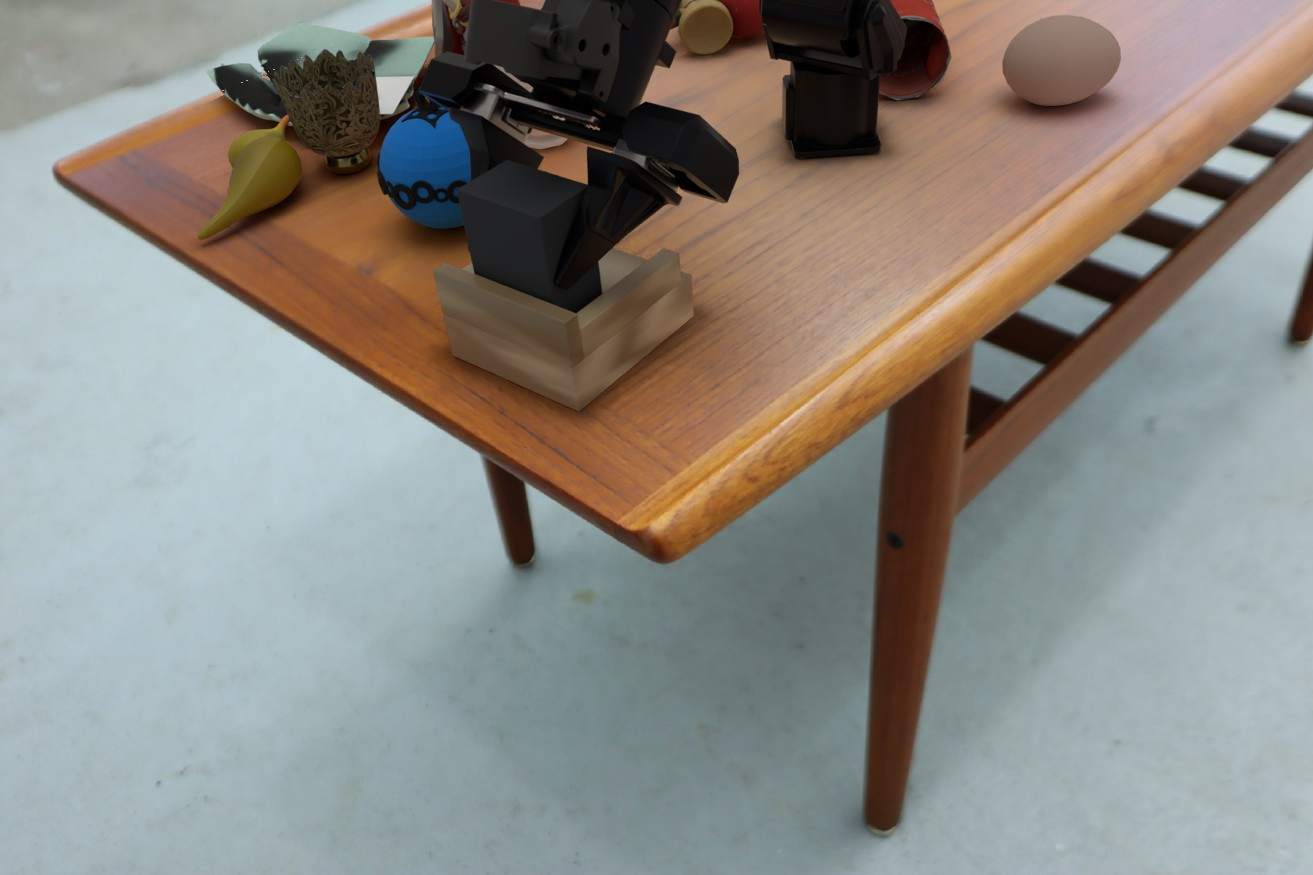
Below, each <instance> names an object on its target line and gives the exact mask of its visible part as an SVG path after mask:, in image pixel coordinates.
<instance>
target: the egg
mask: <svg viewBox="0 0 1313 875" xmlns="http://www.w3.org/2000/svg"><path fill="white" fill-rule="evenodd" d="M1121 61H1122V53H1121V47H1120V44H1119V42H1118V40H1117V38H1116V37H1115V35H1114V34H1113V33H1112V32H1111V31H1110V30H1109V29H1107V27H1105V26H1103V25H1101V24H1100V23H1098V22H1097V21H1094V20H1092V19H1090V18H1087V17H1083V16H1079V15H1070V14H1069V15H1068V14H1061V15H1060V14H1059V15H1050V16H1046V17H1043V18H1040V19H1038V20H1036V21H1033V22H1032V23H1029V24H1028V25H1026V26H1025V27H1023V28H1022V29H1021V30H1020V31H1019V32H1018V33H1017V34H1016V35H1014V37H1013V38H1012V39H1011V40H1010V42H1009V43H1008V46H1007V47H1006V49H1005V51H1004V54H1003V58H1002V63H1001V65H1002V73H1003V74H1002V75H1003V77H1004V80H1005V82H1006V84H1007V85H1008V87H1009V88H1010V89H1011V90H1012V92H1014V93H1015V94H1016V95H1017V96H1018V97H1020V98H1021V99H1023V100H1025V101H1027V102H1029V103H1031V104H1034V105H1036V106H1037V105H1038V106H1043V107H1054V106H1055V107H1056V106H1064V105H1065V106H1067V105H1070V104H1074V103H1077V102H1080V101H1082V100H1084V99H1087V98H1088V97H1090V96H1092V95H1094V94H1096V93H1097V92H1099V91H1100V90H1102V89H1103V88H1105V86H1107V85H1108V84H1109V83H1110V82H1111V81H1112V79H1113V78H1114V76H1115V75H1116V74H1117V72H1118V70H1119V68H1120V64H1121Z"/></svg>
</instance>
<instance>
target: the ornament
mask: <svg viewBox="0 0 1313 875" xmlns="http://www.w3.org/2000/svg"><path fill="white" fill-rule="evenodd" d="M419 88H420V87H418V88H417V89H415V90H414V92H413V98H414V102H415V104H416V106H417V107H415V108H414V109H412V110H410V111H408V112H407V113H405V114H403V115H402V116H401V117H400V118H398V120H397V121H395V123H394V124H393V125H392V126H391V127H390V128H389V130H388V132H387V134H386V136H384V140H383V142H382V146H381V149H380V151H379V152H378V154H377V157H376V166H377V167H376V168H377V171H376V178H377V181H378V184H379V187H380V190H381V192H382V194H383V195H384V196H386V195H387V196H388V198H389V199H390V201H391V203H392V204H393V205H394V206H395V207H396V208H397V210H399V211H400V212H401V213H402V214H403V215H404V216H405V217H406V218H408V219H409V220H412V221H413V222H415V223H417V224H419V225H422V226H426V227H428V228H431V229H435V230H443V229H457V228H459V227H462V226H464V222H463V217H462V212H461V208H460V203H459V198H458V193H457V189H459V188H460V187H462V186H464V185H466V184H467V183H469V182H471V167H470V152H469V147H468V144H467V142H466V139H465V137H464V134H463V132H462V129H461V127H460V125H459V124H457V123H456V122H454V121H453V120H451V119H450V116H449V111H447V110H446V109H444V108H443V107H441V106H439V105H438V104H436V103H435V102H433V101H432V100H430V99H429V98H427V99H428V100H427V99H426V97H425V96H424V95H422V94H421V93H419Z"/></svg>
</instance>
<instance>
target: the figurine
mask: <svg viewBox="0 0 1313 875" xmlns="http://www.w3.org/2000/svg"><path fill="white" fill-rule="evenodd" d="M497 1H502V2H506V3H511V4H516V5H521V3H520V0H497ZM470 8H471V0H431V22H432V23H431V26H432V36H433V38H434V58H435V57H437V56H439V55H441V54H443V53H445V52H451V53H455V54H459V55H463V56H464V54H465V47H466V39H467V31H468V23H469V15H470Z"/></svg>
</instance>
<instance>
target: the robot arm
mask: <svg viewBox="0 0 1313 875" xmlns="http://www.w3.org/2000/svg"><path fill="white" fill-rule="evenodd" d="M681 1H682V0H544V2H543V3H542V4H543V5H542V7H541V8H540V9H539V8H534V7H529V6H525V5H521V4H520V5H516V4H511V3H506V2H502V1H497V0H471V8H470V15H469V23H468V31H467V39H466V47H465V54H464V56H463V55H459V54H455V53H451V52H445V53H443V54H441V55H439V56H437V57H435V56H434V57H433V58H431V59H430V60H429V63H428V65H427V67H426V71H425V72H424V76H423V78H422V81H421V82H420V86H419V87H418V88H419V93H421V94H422V95H424V97H425V98H427V99H428V98H429V99H430V100H432V101H433V102H435V103H436V104H438V105H439V106H441V107H443V108H444V109H446V110H447V111H449V116H450V119H451V120H453V121H454V122H456V123H457V124H459V125H460V127H461V129H462V132H463V134H464V137H465V139H466V142H467V144H468V147H469V152H470V167H471V181H472V180H474V179H476V178H477V177H479V176H481V175H482V174H484V173H486V172H487V171H489V170H491V169H492V168H494V167H496V166H497V165H499V164H501V163H502V162H504V161H506V160H510V161H513V162H516V163H519V164H523V165H526V166H529V167H532V168H536V169H539V168H540V166H541V165H542V162H543V161H544V158H545V157H544V156H543V155H541V154H540V153H539V152H538V151H535V150H534V148H530V147H528V146H527V145H525V142H526V139H527V137H528V134H530V133H531V131H532V129H536V130H539V131H543V132H546V133H550V134H553V135H557V136H560V137H564V138H567V139H568V140H571V141H574V142H578V143H582V144H585V145H588V146H587V147H586V171H587V189H586V192H585V194H584V197H583V199H582V202H581V204H580V207H579V209H578V212H577V214H576V217H575V219H574V222H573V224H572V227H571V230H570V232H569V235H568V237H567V240H566V242H565V245H564V247H563V250H562V252H561V255H560V258H559V262H558V265H557V269H556V272H555V276H554V280H553V282H554V284H555V285H556V286H558V287H560V288H563V289H566V290H567V289H569V288H571V287H572V286H573V285H574V284H575V283H576V282H577V281H578V280H579V279H580V278H581V277H582V276H583V275H584V274H585V273H587V272H588V271H589V270H590V269H591V268H592V267H593V266H594V265H595V264H596V263H597V262H598V261H599V260H600V259H601V258H603V257H604V256H605V255H606V254H607V253H608V252H609V251H610V250H611V249H612V248H614V247H615V246H617V245H618V244H619V243H620V242H621V241H622V240H623V239H624V238H626V236H628V235H629V234H630V233H631V232H633V231H634V230H635V229H637V228H638V227H639V226H641V225H642V224H643V223H645V222H646V221H647V220H648V219H650V218H651V217H652V216H654V215H655V214H656V213H657V212H658V211H660V210H661V209H662V208H664V207H665V206H666V205H671V206H675V207H678V206H680V204H681V203H682V201H683V199H684V197H683V196H682V195H681V194H679V193H678V192H677V191H678V189H679V190H681V191H682V192H684V193H687V194H690V195H693V196H697V197H700V198H703V199H707V200H710V201H713V202H716V203H720V204H728V202H729V200H730V197H731V195H732V193H733V190H734V188H735V186H736V183H737V181H738V178H739V177H740V176H739V175H740V158H739V155H738V151H737V148H736V147H735V146H734V145H733V144H731V142H730V141H728V140H727V138H725V137H724V136H723V135H722V134H721V133H720V132H719V131H717V130H716V129H715V127H713V126H712V125H711V124H710V123H709V122H708V121H706V119H704V118H703V117H702V116H701V114H698V113H693V112H689V111H686V110H681V109H678V108H674V107H670V106H666V105H661V104H658V103H654V102H650V101H644V102H642V100H643V99H644V96H645V93H646V91H647V88H648V86H649V83H650V81H651V78H652V76H653V73H654V71H655V69H656V67H661V68H665V69H669V70H670V69H671V67H672V64H673V61H674V59H675V57H676V55H677V50H676V49H675V48H674V47H673V46H671V44H670V43H669V42H668V41H667V38H668V36H669V34H670V31H671V30H670V29H671V26H672V23H673V21H674V19H675V16H676V14H677V11H678V9H679V6H680V4H681ZM759 11H760V16H761V21H762V25H763V29H764V31H763V34H764V38H765V42H766V46H767V50H768V55H769V58H770V60H775V61H778V60H781V61H786V62H789V63H790V64H789V74H784V76H782V79H781V80H782V81H781V82H782V83H781V84H782V87H781V88H782V90H781V93H782V94H781V96H782V97H781V99H782V100H781V101H782V102H781V104H782V105H781V107H782V108H781V127H782V130H783V135H784V138H785V140H786V141H787V142H790V146H791V149H792V154H793V156H794V157H795V158H799V159H800V158H801V159H802V158H814V157H815V158H816V157H829V156H830V157H831V156H843V155H858V154H871V153H872V154H873V153H879V152H880V151H881V149H882V142H881V140H880V137H879V135H878V133H877V131H878V116H879V115H878V114H879V103H880V102H879V101H880V100H879V99H880V93H879V88H880V74H885V73H893V72H894V71H895V70H897V61H898V60H899V59H900V58H901V55H902V50H903V49H904V45H905V44H904V42H905V37H906V33H907V27H906V25H905V24H904V22H903V20H902V19H901V17H900V15H899V14H898V12H897V11H896V9H895V7H894V6H893V4H892V2H891V1H890V0H760V2H759ZM494 65H496V66H500V67H503V68H504V70H505V72H506V73H510V74H511V75H513V76H514V77H515V78H517V79H518V80H519V81H521V82H524V83H528V84H529V85H530V86H532V87H533V89H532V92H529V91H528V90H527V89H525V88H524V87H522V86H521V85H520V84H518V83H517V82H516V81H514V80H513V79H512V78H510V77H509V76H508V75H506V74H505V73H504V72H502V71H501V70H499V69H498V68H497V67H495V66H494ZM429 99H428V100H429ZM553 116H555V117H556V116H558V117H560V118H562V117H563V118H564V119H565V120H563V121H562V120H560V119H556V118H554V117H553ZM590 126H591V127H590ZM597 128H598V129H597ZM467 251H468V252H469V253H470V250H469V246H468V245H467Z"/></svg>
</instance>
